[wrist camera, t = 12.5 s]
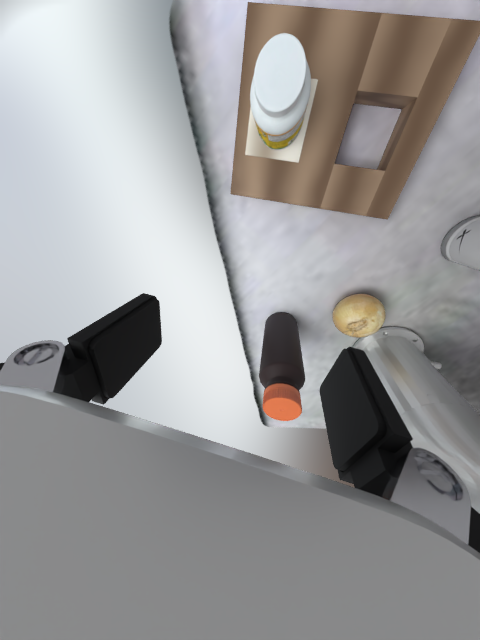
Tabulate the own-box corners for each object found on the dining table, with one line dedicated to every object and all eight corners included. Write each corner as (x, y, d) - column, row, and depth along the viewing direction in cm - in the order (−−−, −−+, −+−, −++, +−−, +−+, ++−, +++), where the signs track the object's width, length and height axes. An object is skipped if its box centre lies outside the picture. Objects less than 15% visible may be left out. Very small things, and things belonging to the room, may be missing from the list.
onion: (361, 280, 33) (379, 296, 27) (385, 310, 35) (406, 331, 29) (321, 306, 37) (329, 326, 31) (344, 332, 39) (356, 355, 33)
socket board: (459, 44, 20) (488, 19, 17) (377, 217, 28) (388, 219, 26) (251, 25, 21) (247, 0, 19) (234, 194, 30) (230, 193, 27)
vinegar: (300, 334, 41) (315, 424, 24) (270, 340, 43) (264, 426, 27) (292, 307, 38) (303, 389, 22) (261, 315, 41) (247, 395, 24)
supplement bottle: (301, 147, 23) (312, 118, 15) (258, 154, 24) (247, 130, 16) (305, 81, 21) (320, 4, 13) (256, 93, 22) (241, 28, 14)
